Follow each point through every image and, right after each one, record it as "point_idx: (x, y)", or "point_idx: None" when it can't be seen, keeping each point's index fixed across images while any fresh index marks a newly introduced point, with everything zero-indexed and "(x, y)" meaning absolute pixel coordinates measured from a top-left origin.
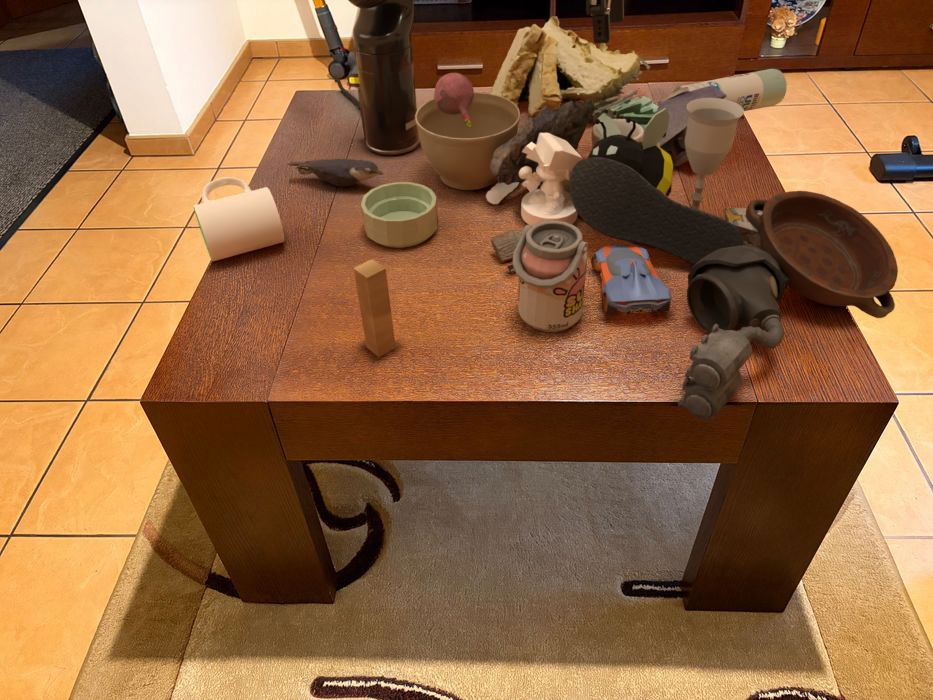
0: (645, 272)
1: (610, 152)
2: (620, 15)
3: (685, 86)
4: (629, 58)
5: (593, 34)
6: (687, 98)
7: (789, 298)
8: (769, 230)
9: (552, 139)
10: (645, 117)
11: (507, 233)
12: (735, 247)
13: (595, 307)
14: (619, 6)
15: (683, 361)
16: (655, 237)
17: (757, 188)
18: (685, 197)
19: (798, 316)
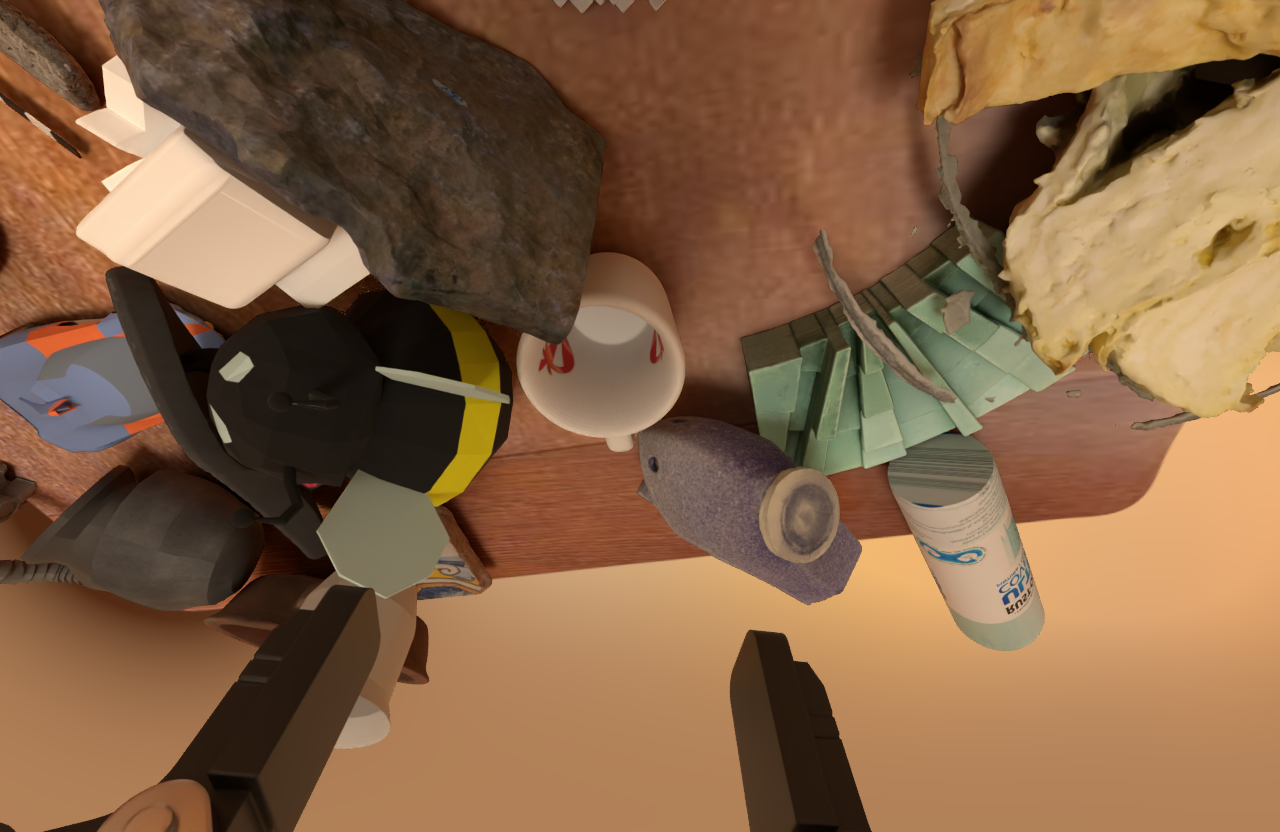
0: (85, 422)
1: (214, 418)
2: (738, 711)
3: (966, 507)
4: (1206, 388)
5: (304, 625)
6: (750, 552)
7: (302, 558)
8: (234, 623)
9: (158, 210)
10: (822, 406)
11: (3, 26)
12: (158, 580)
13: (39, 303)
14: (747, 773)
15: (33, 443)
16: None
17: (617, 545)
18: (549, 447)
19: (265, 563)
